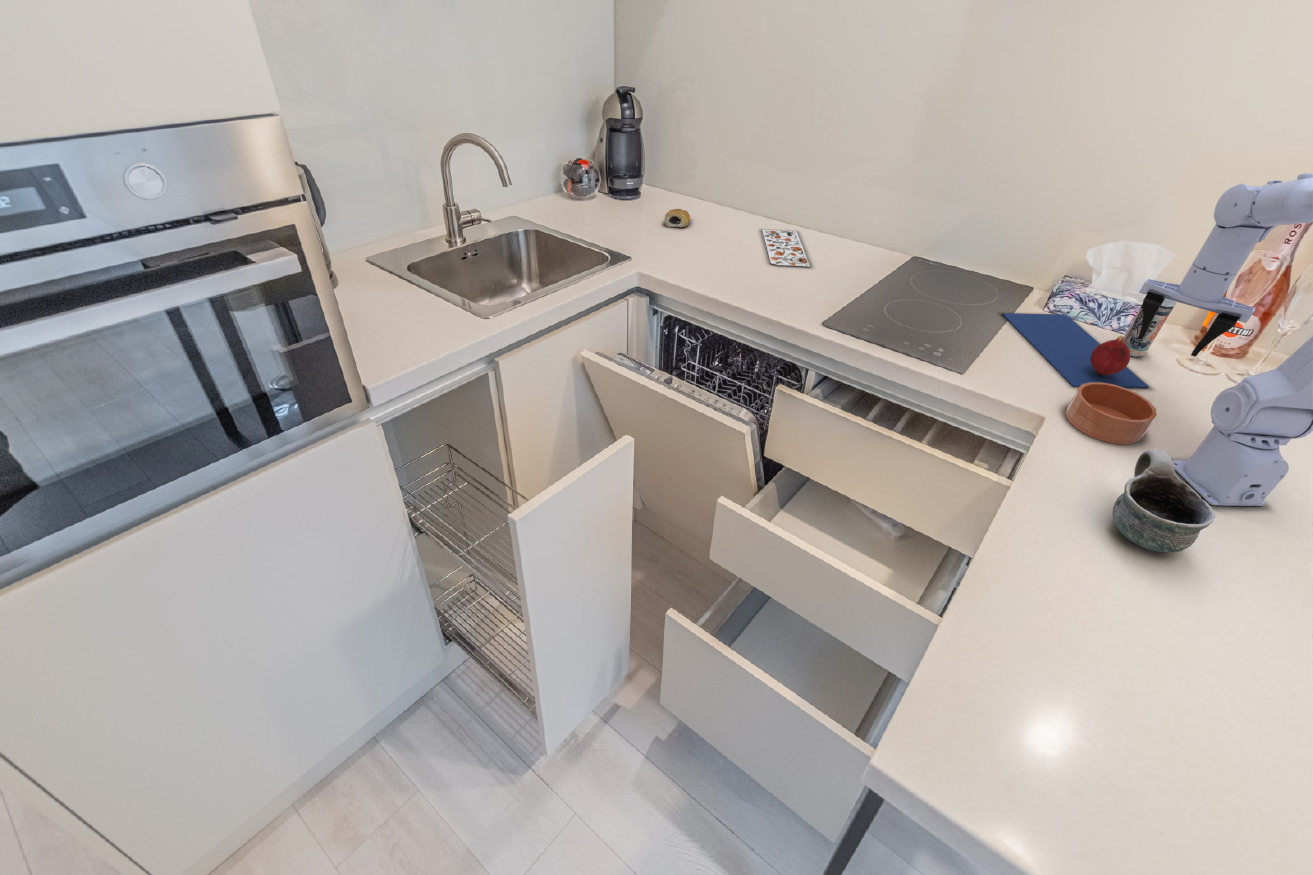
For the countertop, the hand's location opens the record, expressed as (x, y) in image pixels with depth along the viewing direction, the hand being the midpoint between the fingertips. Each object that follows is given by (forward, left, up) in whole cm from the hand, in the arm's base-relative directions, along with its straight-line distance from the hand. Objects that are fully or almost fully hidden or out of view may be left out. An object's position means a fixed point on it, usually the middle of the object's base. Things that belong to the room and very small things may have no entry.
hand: (1166, 345), depth 104 cm
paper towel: (+66, +51, -10) cm, 84 cm away
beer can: (+16, -9, -11) cm, 21 cm away
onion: (+6, +3, -10) cm, 12 cm away
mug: (-32, +21, -11) cm, 40 cm away
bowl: (-8, +11, -10) cm, 17 cm away
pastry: (+82, +78, -11) cm, 113 cm away
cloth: (+17, +3, -10) cm, 20 cm away
